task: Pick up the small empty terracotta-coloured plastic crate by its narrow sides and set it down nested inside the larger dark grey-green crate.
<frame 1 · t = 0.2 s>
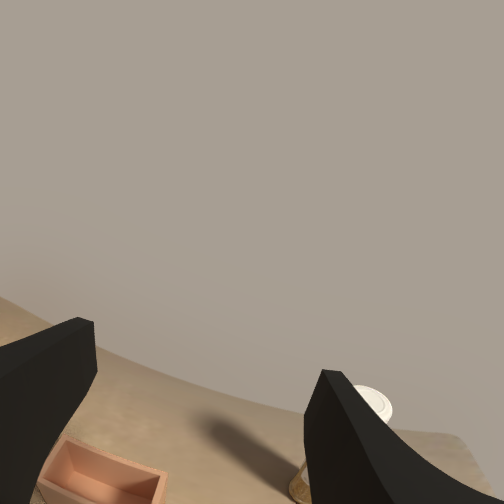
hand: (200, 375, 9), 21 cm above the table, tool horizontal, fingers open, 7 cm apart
sprinkles bottle: (308, 492, 25), on the table
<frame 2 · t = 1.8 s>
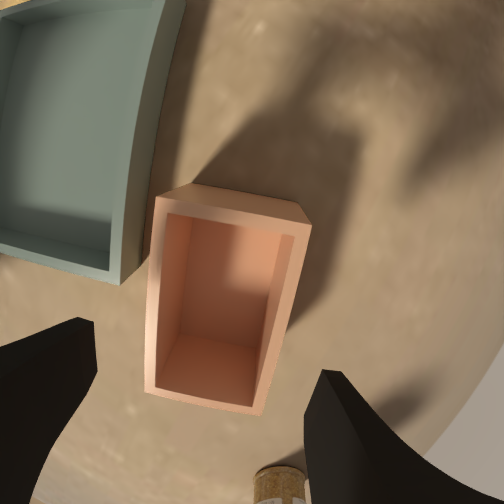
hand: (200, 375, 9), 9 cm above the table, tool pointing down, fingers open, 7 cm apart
small crate: (229, 274, 18), on the table
base crate: (65, 123, 15), on the table
sprinkles bottle: (279, 476, 23), on the table
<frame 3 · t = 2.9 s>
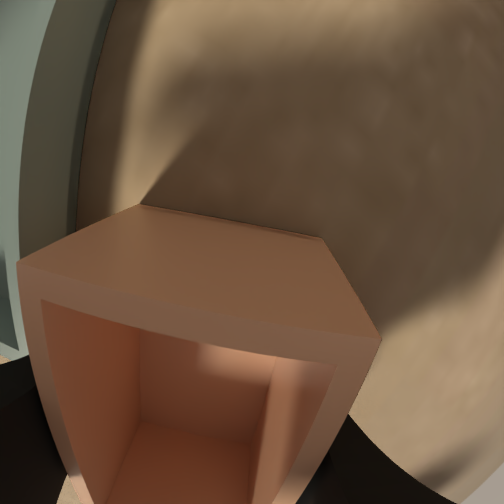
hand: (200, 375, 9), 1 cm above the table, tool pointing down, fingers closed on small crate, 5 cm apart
small crate: (207, 350, 11), on the table, touching gripper
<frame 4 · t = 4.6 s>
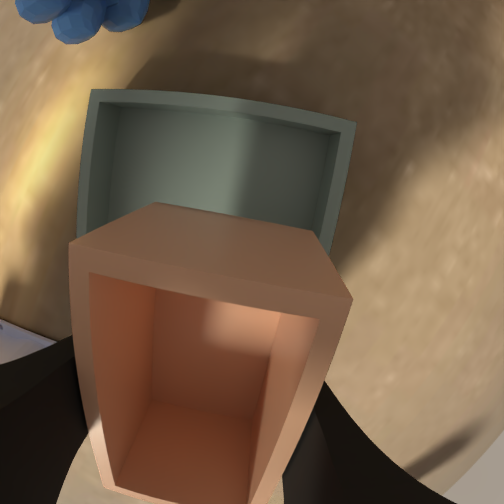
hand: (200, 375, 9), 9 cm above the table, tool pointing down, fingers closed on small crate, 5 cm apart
small crate: (213, 330, 12), point 6 cm above the table, touching gripper
base crate: (202, 246, 17), on the table
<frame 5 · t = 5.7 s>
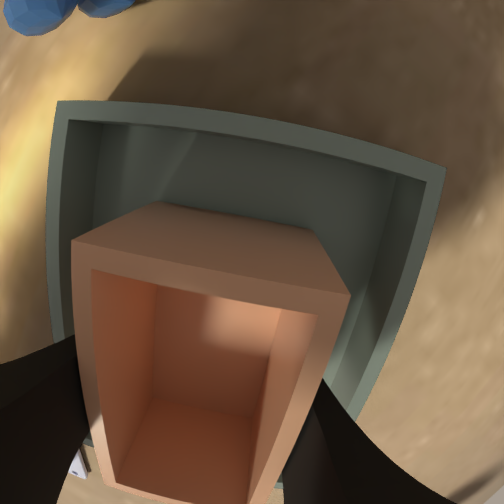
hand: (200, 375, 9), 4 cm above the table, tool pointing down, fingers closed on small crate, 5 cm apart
small crate: (214, 328, 12), point 1 cm above the table, touching gripper
base crate: (217, 315, 13), on the table
when the fingers open (3 cm above the table, at t = 6.4 s): small crate stays where it is, resting on base crate.
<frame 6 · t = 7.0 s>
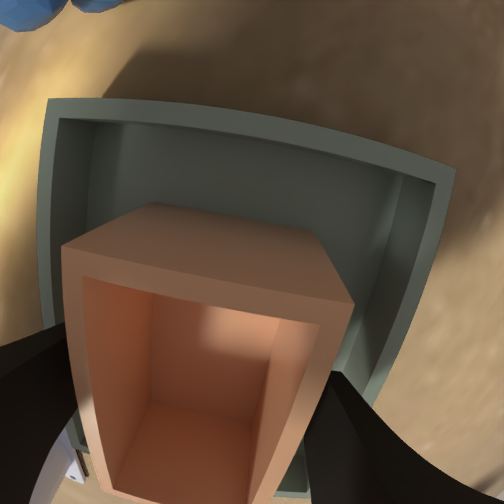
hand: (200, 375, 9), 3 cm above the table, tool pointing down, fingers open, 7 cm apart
small crate: (212, 332, 12), point 1 cm above the table, touching base crate
base crate: (215, 322, 13), on the table, touching small crate
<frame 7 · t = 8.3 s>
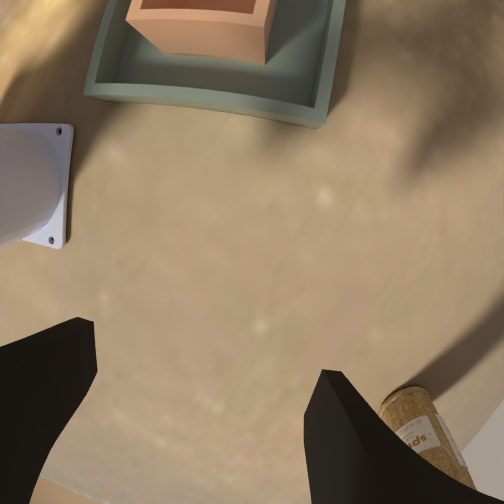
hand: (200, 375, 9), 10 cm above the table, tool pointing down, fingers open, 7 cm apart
sprinkles bottle: (402, 404, 22), on the table
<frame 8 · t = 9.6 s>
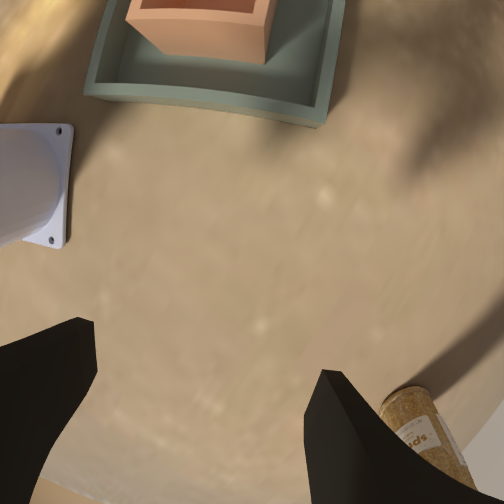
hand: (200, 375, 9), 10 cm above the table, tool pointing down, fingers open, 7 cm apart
sprinkles bottle: (403, 403, 22), on the table
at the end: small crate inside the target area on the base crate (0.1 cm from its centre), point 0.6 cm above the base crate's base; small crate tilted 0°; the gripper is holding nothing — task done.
